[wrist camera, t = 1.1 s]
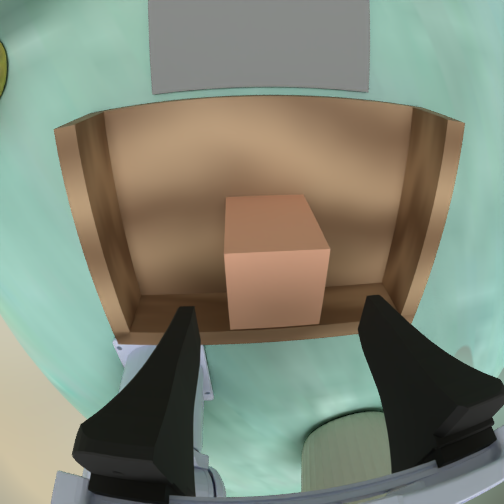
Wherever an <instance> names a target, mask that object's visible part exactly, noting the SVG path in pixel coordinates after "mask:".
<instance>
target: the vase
mask: <svg viewBox="0 0 504 504" xmlns="http://www.w3.org/2000/svg"><path fill="white" fill-rule="evenodd" d="M6 75H7V59H6V53H5V50H4V47H3V45H2V44H1V42H0V96H1V94H2V92H3V88H4V85H5V81H6Z"/></svg>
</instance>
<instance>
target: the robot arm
mask: <svg viewBox="0 0 504 504" xmlns="http://www.w3.org/2000/svg"><path fill="white" fill-rule="evenodd" d="M358 333H359V337H360V342H361V345H362V349H363V352H364V355H365V357H366V360H367V363H368V365H369V368H370V370H371V373H372V376H373V378H374V381H375V384H376V386H377V389H378V392H379V395H380V399H381V403H382V407H383V412H384V416H385V422H386V427H387V433H388V440H389V447H390V458H391V473H392V474H389V475H386V476H382V477H378V478H374V479H370V480H366V481H362V482H357V483H353V484H348V485H343V486H338V487H332V488H327V489H321V490H314V491H307V492H299V493H291V494H281V495H269V496H254V497H226V491H225V486H224V483H223V481H222V479H221V477H220V475H219V473H218V472H217V471H216V470H215V469H214V468H212V467H209V466H208V464H209V456H208V455H205V454H201V450H202V444H203V412H204V400H213V399H214V394H213V389H212V385H211V380H210V375H209V370H208V365H207V360H206V355H205V350H204V345H201V339H200V333H199V328H198V323H197V317H196V312H195V306H180V307H179V308H178V309H177V311H176V313H175V315H174V317H173V319H172V321H171V323H170V325H169V326H168V328H167V330H166V332H165V333H164V335H163V337H162V338H161V340H160V342H159V343H158V345H124V344H118V342H117V340H116V338H114V340H113V345H114V347H115V350H116V352H117V354H118V356H119V358H120V360H121V362H122V364H123V366H124V372H123V376H122V380H121V384H120V388H119V392H118V394H117V395H116V396H115V397H114V398H113V399H112V400H111V401H110V402H109V403H108V404H106V405H105V406H104V407H103V408H102V409H101V410H99V411H98V412H97V413H96V414H94V415H93V416H92V417H90V418H89V419H88V420H86V421H85V422H84V423H82V424H81V425H80V428H79V430H78V433H77V436H76V439H75V443H74V448H73V452H72V455H73V458H74V459H75V460H76V461H77V462H78V463H79V464H80V465H81V466H83V467H84V470H83V476H78V475H74V474H70V473H66V472H62V471H57V475H56V479H55V484H54V489H53V494H52V500H51V504H344V503H349V502H353V501H358V500H362V499H366V498H370V497H374V496H378V495H382V494H385V493H387V494H386V496H385V497H382V498H378V499H374V500H370V501H366V502H362V503H358V504H463V503H465V502H467V501H469V500H471V499H473V498H475V497H476V496H478V495H480V494H482V493H484V492H486V491H488V490H489V489H491V488H493V487H494V486H496V485H498V484H500V483H501V482H503V481H504V425H502V426H501V427H499V428H497V429H496V430H494V431H493V429H492V426H493V425H494V421H493V418H492V417H493V416H494V415H495V414H496V413H497V412H498V410H499V409H500V408H501V407H502V406H503V405H504V385H503V383H502V381H501V380H500V379H498V378H495V377H493V376H490V375H488V374H485V373H483V372H481V371H478V370H476V369H474V368H472V367H470V366H468V365H467V364H464V363H463V362H461V361H459V360H458V359H456V358H454V357H453V356H451V355H450V354H448V353H447V352H445V351H444V350H442V349H441V348H440V347H438V346H437V345H435V344H434V343H433V342H431V341H430V340H429V339H428V338H426V337H425V336H424V335H423V334H422V333H420V332H419V331H418V330H417V329H416V328H415V327H414V326H412V325H411V324H410V323H409V322H408V321H407V320H406V319H405V318H404V317H403V316H402V315H401V314H400V313H399V312H397V311H396V310H395V309H394V308H393V307H392V306H391V305H390V304H389V303H388V302H387V301H386V300H385V299H384V298H383V297H382V296H380V295H369V296H367V297H366V300H365V304H364V308H363V312H362V315H361V319H360V322H359V326H358ZM389 492H390V493H389Z"/></svg>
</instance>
